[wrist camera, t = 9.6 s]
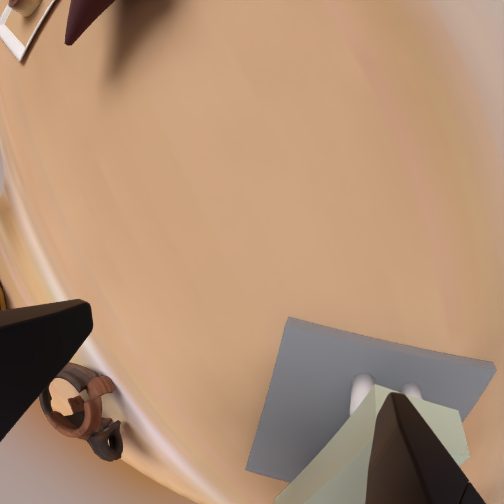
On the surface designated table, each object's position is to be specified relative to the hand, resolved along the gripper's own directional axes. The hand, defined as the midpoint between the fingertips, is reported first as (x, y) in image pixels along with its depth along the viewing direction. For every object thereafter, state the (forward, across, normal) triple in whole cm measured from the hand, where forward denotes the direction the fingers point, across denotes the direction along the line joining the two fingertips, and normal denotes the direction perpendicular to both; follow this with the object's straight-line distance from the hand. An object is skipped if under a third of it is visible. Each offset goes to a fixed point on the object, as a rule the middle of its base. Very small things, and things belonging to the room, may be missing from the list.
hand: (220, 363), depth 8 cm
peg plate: (+12, -8, +14) cm, 20 cm away
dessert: (+13, +31, -22) cm, 40 cm away
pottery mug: (+12, +18, +22) cm, 31 cm away
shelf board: (+8, -8, +14) cm, 18 cm away
